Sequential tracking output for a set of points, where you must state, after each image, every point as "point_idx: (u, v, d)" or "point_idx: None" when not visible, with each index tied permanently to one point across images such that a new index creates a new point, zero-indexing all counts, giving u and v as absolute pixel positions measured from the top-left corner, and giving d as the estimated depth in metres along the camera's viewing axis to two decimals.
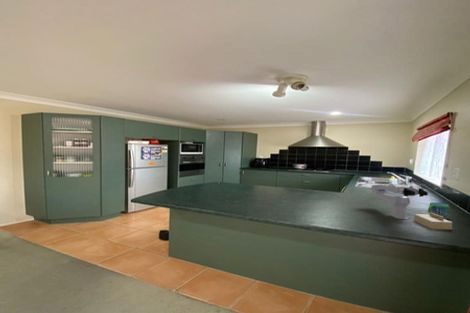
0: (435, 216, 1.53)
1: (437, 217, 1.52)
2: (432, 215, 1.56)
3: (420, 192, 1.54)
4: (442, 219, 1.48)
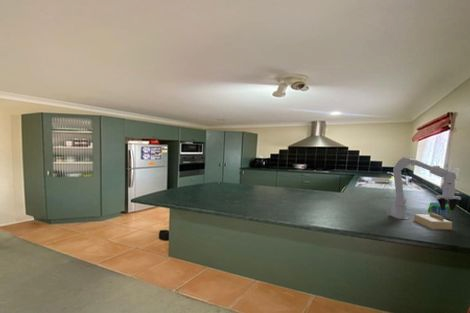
0: (435, 216, 1.53)
1: (437, 217, 1.52)
2: (432, 215, 1.56)
3: (451, 201, 1.52)
4: (442, 219, 1.48)
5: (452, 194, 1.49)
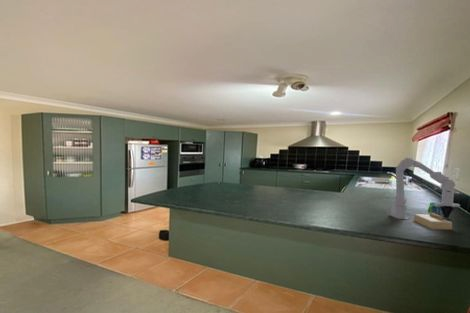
0: (435, 216, 1.53)
1: (437, 217, 1.52)
2: (432, 215, 1.56)
3: None
4: (442, 219, 1.48)
5: (451, 202, 1.50)
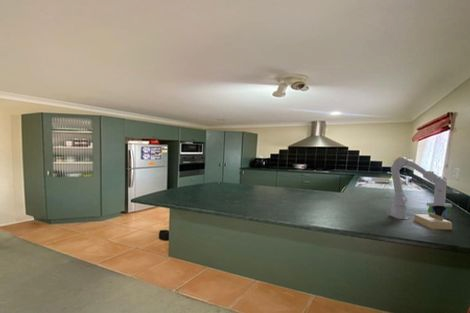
0: (434, 216, 1.53)
1: (436, 217, 1.52)
2: (431, 215, 1.56)
3: None
4: (441, 219, 1.48)
5: (443, 201, 1.50)
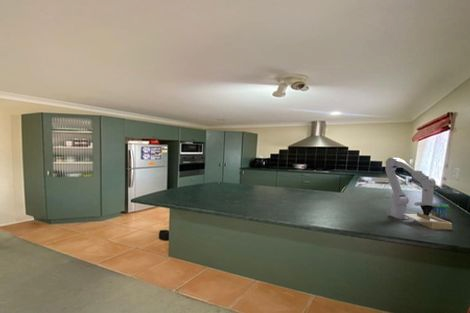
0: (422, 215, 1.54)
1: (424, 216, 1.52)
2: (419, 214, 1.56)
3: None
4: (429, 218, 1.49)
5: (430, 201, 1.50)
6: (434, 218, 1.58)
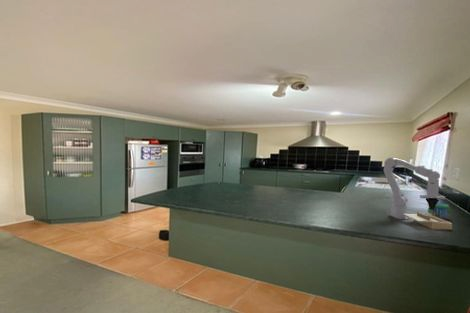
0: (422, 215, 1.54)
1: (424, 216, 1.52)
2: (419, 214, 1.56)
3: None
4: (429, 218, 1.49)
5: (436, 194, 1.51)
6: (434, 218, 1.58)
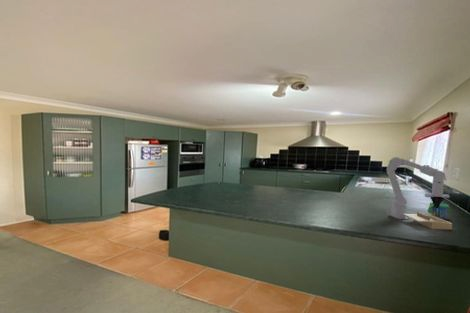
0: (422, 215, 1.54)
1: (424, 216, 1.52)
2: (419, 214, 1.56)
3: None
4: (429, 218, 1.49)
5: (441, 192, 1.54)
6: (434, 218, 1.58)
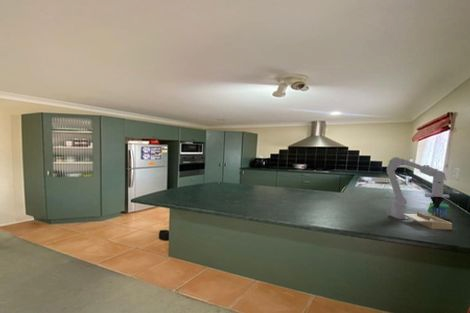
0: (422, 215, 1.54)
1: (424, 216, 1.52)
2: (419, 214, 1.56)
3: None
4: (429, 218, 1.49)
5: (441, 192, 1.54)
6: (434, 218, 1.58)
